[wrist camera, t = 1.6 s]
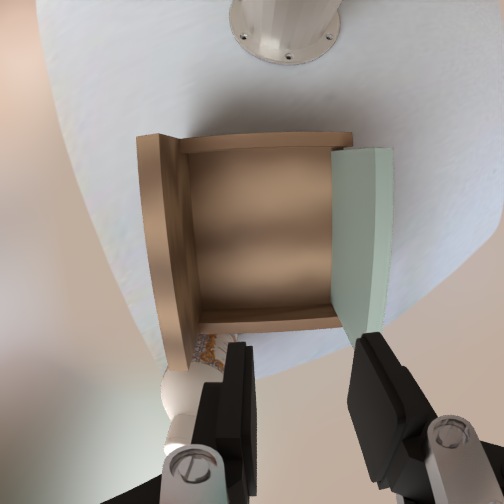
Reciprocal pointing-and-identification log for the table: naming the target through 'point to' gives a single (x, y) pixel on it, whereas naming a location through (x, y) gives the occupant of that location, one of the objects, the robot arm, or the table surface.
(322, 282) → the tray
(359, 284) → the panel
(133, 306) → the table surface
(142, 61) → the table surface
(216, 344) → the bath foam
